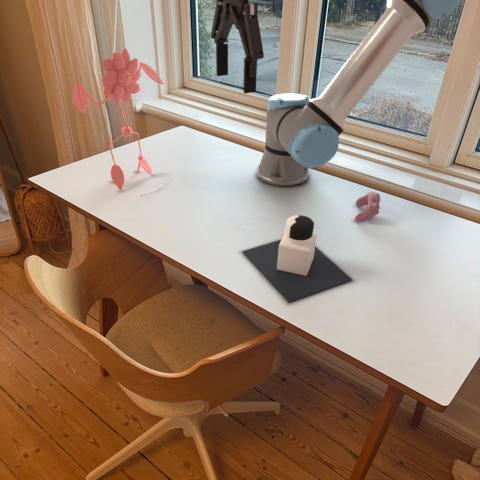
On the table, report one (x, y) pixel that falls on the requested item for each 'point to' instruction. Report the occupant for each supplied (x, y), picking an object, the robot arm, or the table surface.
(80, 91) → the figurine
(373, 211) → the video game controller
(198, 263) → the table surface
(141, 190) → the table surface
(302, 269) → the medicine bottle
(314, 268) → the mat
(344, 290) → the table surface
